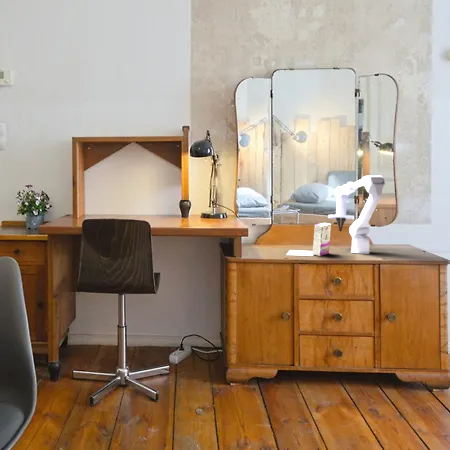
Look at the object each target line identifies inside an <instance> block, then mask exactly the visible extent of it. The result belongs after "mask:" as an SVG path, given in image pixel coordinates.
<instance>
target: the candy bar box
mask: <svg viewBox="0 0 450 450" xmlns="http://www.w3.org/2000/svg"><path fill="white" fill-rule="evenodd" d="M313 228H314V230H313V232H314V233H313V242H312V243H313V244H312V251H313V256H318V257H322V256H324V255H327V254H329V252H330V241H331V240H330V239H331V230H332V223H327V222H322V223H317V224H314V227H313Z"/></svg>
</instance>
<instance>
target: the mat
mask: <svg viewBox="0 0 450 450" xmlns="http://www.w3.org/2000/svg"><path fill="white" fill-rule="evenodd" d="M285 256H291V257H292V256H293V257H294V256H295V257H314V255H313V250H297V249H296V250H295V249H289V251H288V252H287V253H286V255H285Z"/></svg>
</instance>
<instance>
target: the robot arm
mask: <svg viewBox="0 0 450 450" xmlns="http://www.w3.org/2000/svg"><path fill="white" fill-rule="evenodd" d="M385 185H386V181H385V178H384V176H383V175H365V176H362V178H361V179H359V180H357V181H355V182H354V181H348V182H347V183H346V184H343V185H342V186H337V187H336V188H335V189H334V195H335V197H336V208H335V209H336V210H335V214H328V216H327V218H328V219H335V220H336V222H337V225H338V229H339V230H338V231H339V232H343V227H344V224H345V222H346V220H354V219H355V215H350V214H347V205H348V204H347V201H348V197H349V195H350V194H352V193H355V192H356V191H357V189H359V188H362V187H364V188H365V190H366V192H367V193H368V194H369V196H368V198H367V200H366V202H365V204H364V207H363V208H362V210H361V212H360V215H359V216H358V218H357V219H356V220H355V221H353V223H352V224H351V225H350V226H349V229H348V231H349V234H350V236H351V250H350V253H351V254H364V255H365V254H366V255H367V254H368V255H369V254H370V251H371V248H370V240H371V239H370V236H368V235H369V232H370V227H371V224H370V223H369V222H370V220H371V217H373V216H372V215H373V214H374V212H375V210H376V207H377V205H378V204H379V201H380V200H381V198H382V196H383V195H382V194H383V188H384V187H385Z"/></svg>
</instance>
